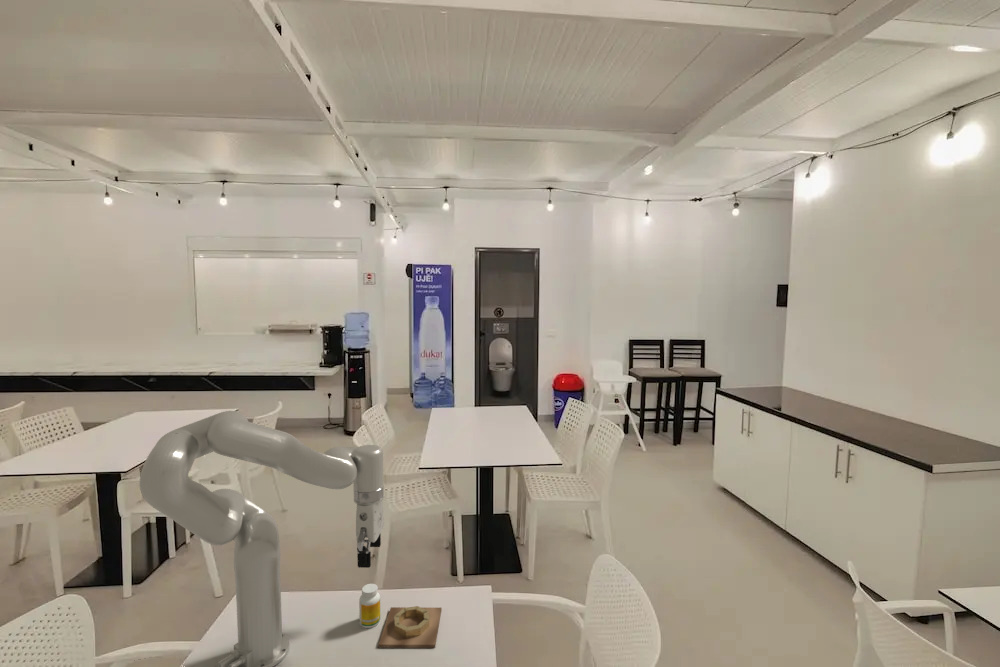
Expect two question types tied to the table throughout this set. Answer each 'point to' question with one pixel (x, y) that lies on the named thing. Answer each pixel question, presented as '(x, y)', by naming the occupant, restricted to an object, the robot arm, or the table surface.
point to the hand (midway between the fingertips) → (369, 556)
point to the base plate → (398, 641)
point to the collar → (411, 630)
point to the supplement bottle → (369, 606)
